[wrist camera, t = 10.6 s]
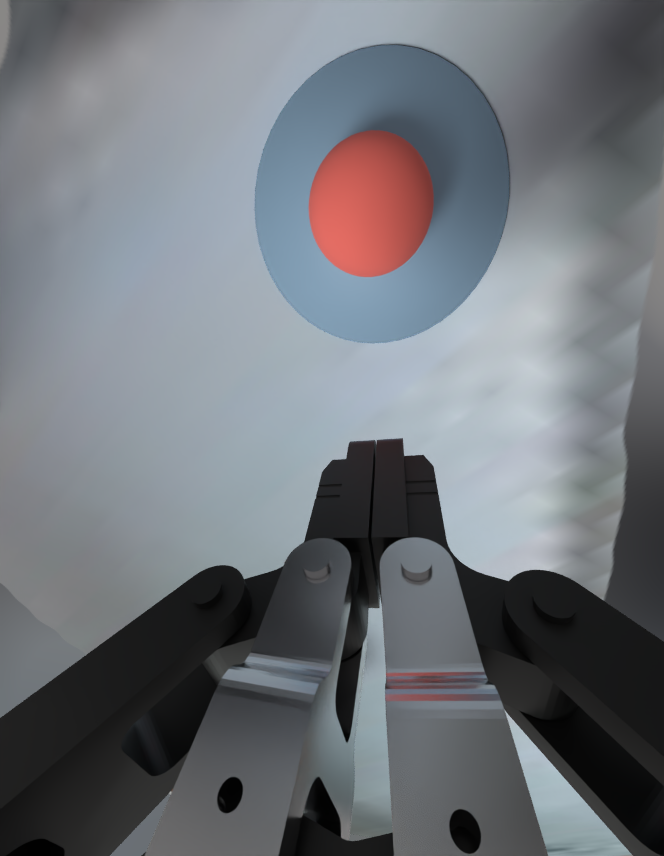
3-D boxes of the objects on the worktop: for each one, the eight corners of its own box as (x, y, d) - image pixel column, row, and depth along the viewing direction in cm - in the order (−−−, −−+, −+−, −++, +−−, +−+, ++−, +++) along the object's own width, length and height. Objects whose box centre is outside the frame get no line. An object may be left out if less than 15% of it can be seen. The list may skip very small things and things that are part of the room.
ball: (267, 173, 15) (320, 132, 18) (312, 303, 19) (348, 250, 22) (410, 136, 12) (441, 96, 15) (424, 296, 16) (446, 238, 20)
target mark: (286, 353, 25) (285, 354, 25) (223, 90, 18) (222, 89, 18) (498, 328, 22) (499, 329, 22) (521, 4, 15) (523, 1, 15)
